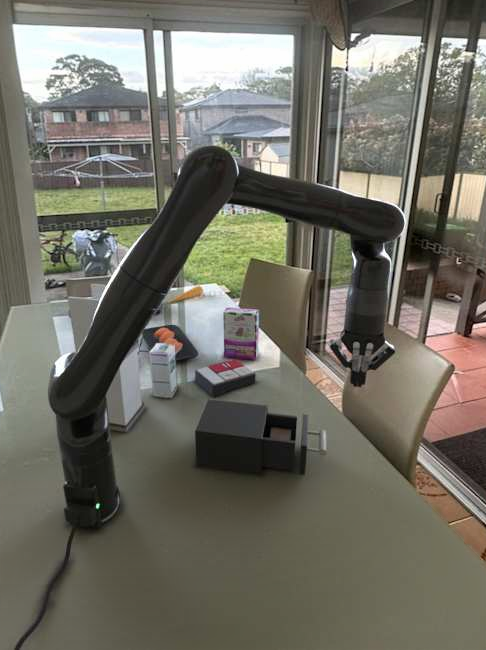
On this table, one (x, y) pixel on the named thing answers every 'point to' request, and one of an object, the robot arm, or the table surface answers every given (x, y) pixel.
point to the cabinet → (231, 436)
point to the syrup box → (163, 370)
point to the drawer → (288, 443)
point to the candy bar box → (241, 333)
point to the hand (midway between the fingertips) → (357, 385)
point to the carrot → (189, 294)
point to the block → (280, 433)
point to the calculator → (224, 377)
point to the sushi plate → (169, 340)
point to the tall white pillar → (126, 382)
